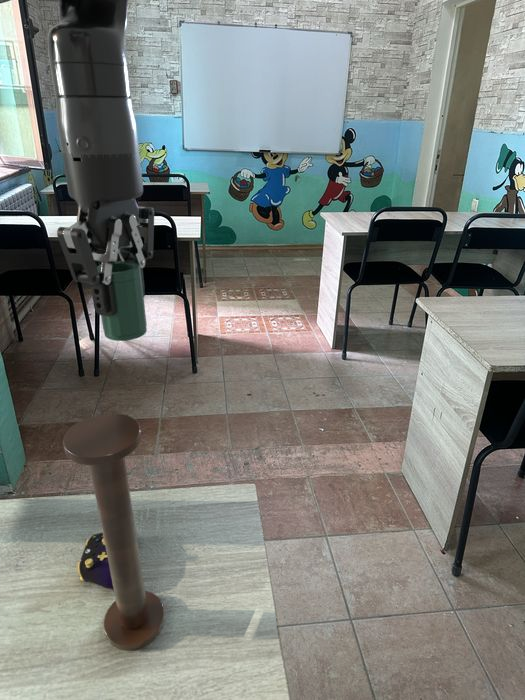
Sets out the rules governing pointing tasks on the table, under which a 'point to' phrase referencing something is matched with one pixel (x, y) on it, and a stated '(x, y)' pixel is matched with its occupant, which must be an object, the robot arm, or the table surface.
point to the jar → (126, 303)
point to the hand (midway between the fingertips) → (121, 305)
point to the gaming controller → (95, 563)
